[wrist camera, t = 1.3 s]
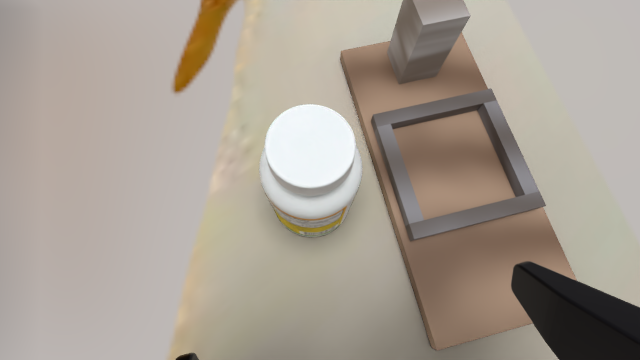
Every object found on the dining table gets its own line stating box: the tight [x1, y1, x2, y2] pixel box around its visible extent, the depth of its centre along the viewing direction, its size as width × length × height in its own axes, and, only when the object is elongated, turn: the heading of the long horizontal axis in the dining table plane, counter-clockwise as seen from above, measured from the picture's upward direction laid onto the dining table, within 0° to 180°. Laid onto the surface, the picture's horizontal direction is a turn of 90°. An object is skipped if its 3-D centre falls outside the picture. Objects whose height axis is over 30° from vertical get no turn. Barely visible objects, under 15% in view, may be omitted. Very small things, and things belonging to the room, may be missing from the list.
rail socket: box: [340, 0, 577, 350], centre depth 21 cm, size 22×10×7 cm, turn 14°
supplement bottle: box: [259, 104, 362, 237], centre depth 19 cm, size 5×5×10 cm
